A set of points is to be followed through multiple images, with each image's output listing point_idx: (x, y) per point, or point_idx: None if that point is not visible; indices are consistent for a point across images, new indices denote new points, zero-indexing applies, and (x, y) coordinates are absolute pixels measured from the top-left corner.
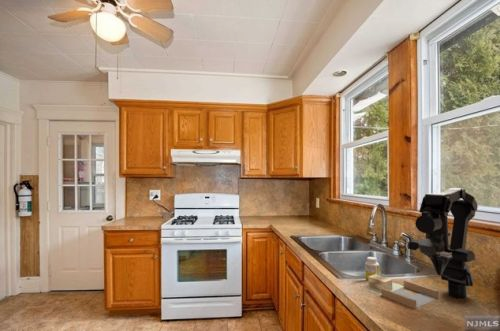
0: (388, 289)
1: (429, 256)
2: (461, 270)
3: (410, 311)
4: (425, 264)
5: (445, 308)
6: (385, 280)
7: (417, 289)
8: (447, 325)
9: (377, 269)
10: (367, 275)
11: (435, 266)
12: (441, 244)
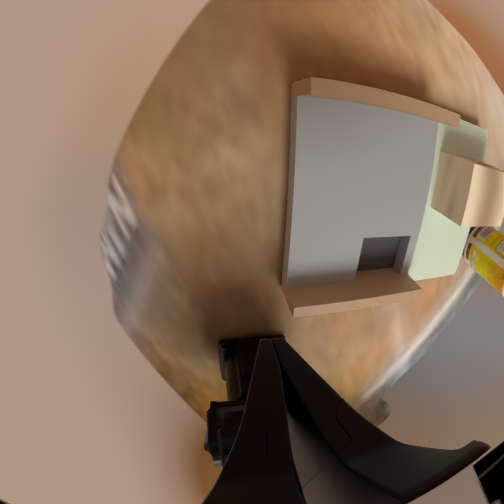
0: (442, 179)
1: (423, 463)
2: (223, 453)
3: None
4: None
5: (236, 253)
6: (475, 189)
7: (365, 285)
8: (151, 97)
9: (499, 268)
10: (500, 233)
11: (317, 392)
12: None
